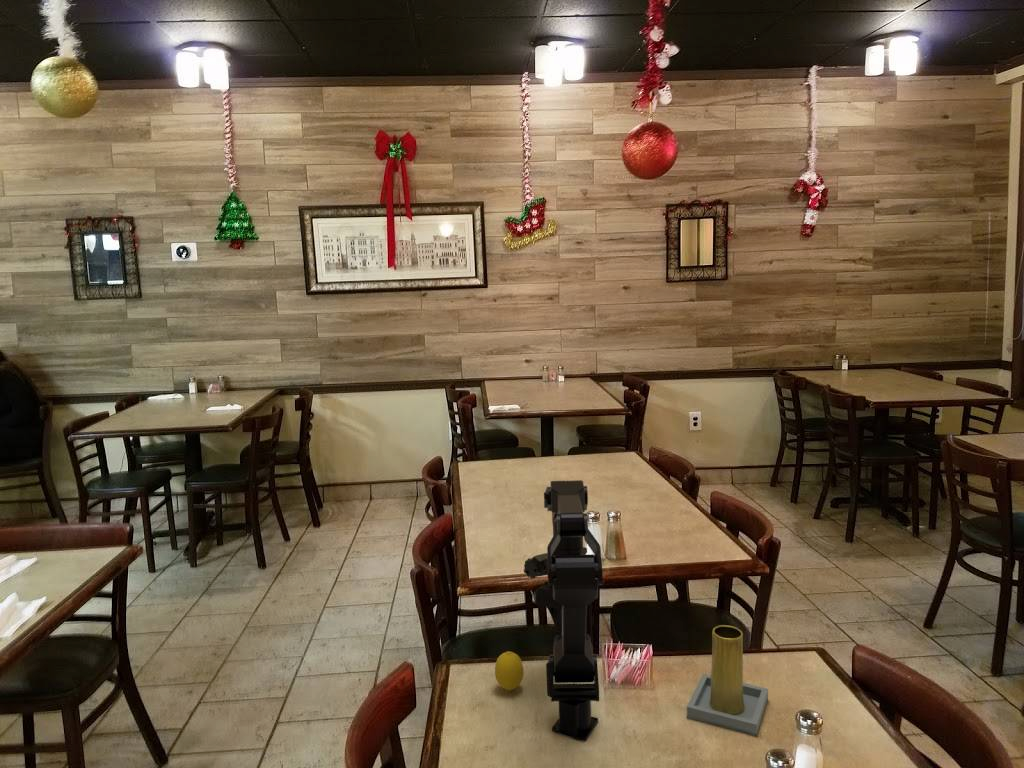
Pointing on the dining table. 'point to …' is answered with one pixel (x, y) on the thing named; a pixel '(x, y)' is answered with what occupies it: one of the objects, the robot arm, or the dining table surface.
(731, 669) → the vase
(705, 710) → the tray
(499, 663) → the lemon
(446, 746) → the dining table surface
